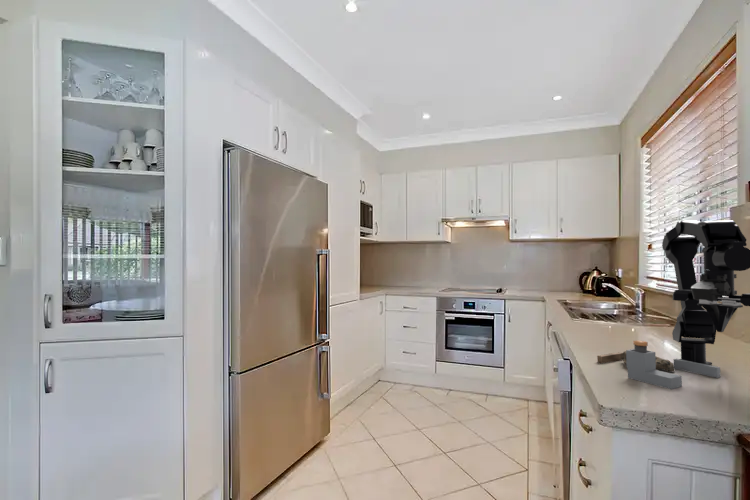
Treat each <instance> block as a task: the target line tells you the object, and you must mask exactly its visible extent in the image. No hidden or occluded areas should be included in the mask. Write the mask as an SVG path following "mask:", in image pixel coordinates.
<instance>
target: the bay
mask: <svg viewBox="0 0 750 500" xmlns="http://www.w3.org/2000/svg"><path fill="white" fill-rule="evenodd" d="M625 351H626V363H627V364H626V363H625V364H626V368H627V378H628V379H632V380H635V381H639V382H643V383H646V384H650V385H653V386H657V387H661V388H666V389H669V390H673V389H677V388H682V387H683V377H682V375H679V374H675V373H672V372H668V371H667V372H666V371H663V370H656V357H657V356H656V351H652V350H648V349H647V353H640V352H635V349H634V348H631V349H626V350H625ZM655 356H656V357H655ZM673 365H674V370H675V369H676V370H681V371H685V372H689V373H695V374H698V375H703V376H708V377H711V378H717V379H718V378H721V367H720V366H717V365H716V366H715V365H712V364H710V365H706V364H701V363H696V362H691V361H686V360H681V358H674V359H673Z"/></svg>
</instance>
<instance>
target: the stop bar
mask: <svg viewBox="0 0 750 500" xmlns="http://www.w3.org/2000/svg"><path fill="white" fill-rule="evenodd" d="M622 353H623V352H621V351H618V352H612V353H606V354H599V355H597V356H596V357H597V363H598V364H607V363H612V362H613V363H614V362H620V361H623V360H622V359H620V357H621V355H622Z"/></svg>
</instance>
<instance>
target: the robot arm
mask: <svg viewBox="0 0 750 500" xmlns="http://www.w3.org/2000/svg"><path fill="white" fill-rule="evenodd" d="M675 224H676V225H675V226H674V227H672V229H670V230H668V231H667V232H666V233H665V235H664V237H663V240H662V242H661V248H662V251H664V253H665V257H666V258H667V259H668V261H670V262H671V263H672V264H673V267H674V272H675V273H674V274H675V279H676V283H677V284H676V285H677V289H675V290H674V291H673V293H672V301H676V302H677V301H679V302H680V306H681V310H680V311H679V313H678V315H677V317H676V321H675V322H676V323H675V325H674V328H673V330H672V332H671V334H672V339H673V341H675V342H678V343H680V359H681V360H686V361H691V362H696V363H701V364H706V365H713V362H711V361H708V360H707V351H706V349H707V348H706V347H707V346H706V345H707V344H708V345H709V344H710V345H715V342H716V335H717V332H718V333H724V331H725V330H726V328H727V326H728V325H729V322H730V320H731V318H732V317H733V315H735V312H736V311H737V310H738V309H739V308H744V306H745V307H750V292H749V293H742V294H741V295H739V294H738V290H735V279H737V278H738V277H737V274H736V273H735V272H742V271H743V272H744V271H747V270H749V269H750V248H749V247H747V245H748V244H747V238H746V237H745V234H743V232H742V230H741V228H740V227H739V225H738V224H737V223H736V222H735V221H734V220H706V221H699V220H697V219H694V220H693V219H692V220H691V219H690V220H680V221H677V222H676V223H675ZM700 245H702V246H703V248H702V249H701V252H702V253H703V273H701V276H700V280H699V281H698V280H697V276H696V275H697V274H696V270H695V266H694V258H695V257H696V255H697V254H698V249H699V247H700Z"/></svg>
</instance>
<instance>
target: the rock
mask: <svg viewBox="0 0 750 500" xmlns="http://www.w3.org/2000/svg"><path fill="white" fill-rule="evenodd" d="M621 353H622V355H621V357H620V359H622V360H621V361H623V363H624V364H625V365H627V363H626V350H624V351H623V352H621ZM655 357H656V370H658V371H664V372H666V371H667V372H669V373H672V372H673V373H675V368H674V362H672V361H670V360H668V359H664V358H661V357H659V356H656V355H655Z"/></svg>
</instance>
